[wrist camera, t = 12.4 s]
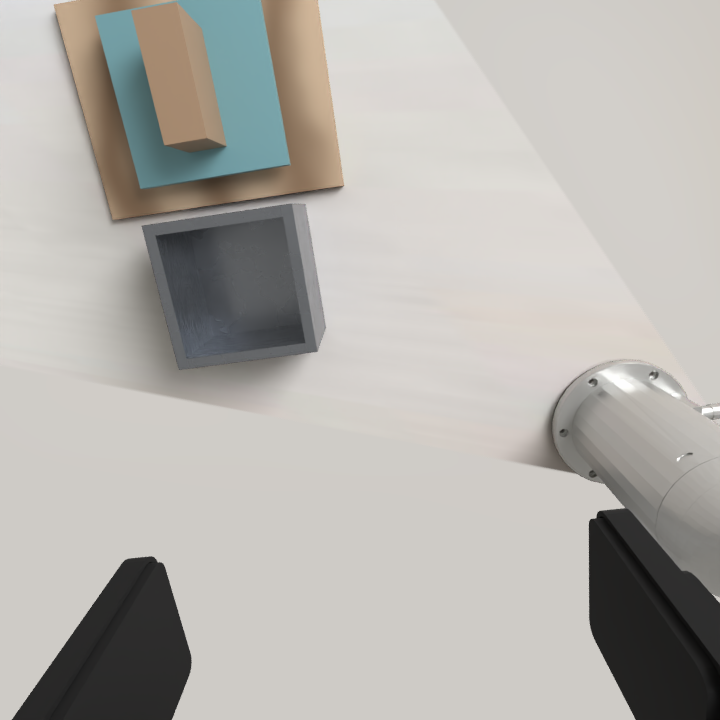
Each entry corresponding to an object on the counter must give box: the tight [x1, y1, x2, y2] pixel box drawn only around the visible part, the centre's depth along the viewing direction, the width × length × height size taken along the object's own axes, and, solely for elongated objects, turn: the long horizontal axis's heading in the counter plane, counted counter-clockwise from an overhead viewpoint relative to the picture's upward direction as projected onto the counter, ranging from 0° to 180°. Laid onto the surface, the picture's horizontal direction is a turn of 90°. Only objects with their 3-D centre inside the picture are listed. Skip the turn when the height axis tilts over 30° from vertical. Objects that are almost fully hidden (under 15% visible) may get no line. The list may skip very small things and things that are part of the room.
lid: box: [95, 0, 291, 189], centre depth 36 cm, size 12×12×8 cm
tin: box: [142, 204, 326, 370], centre depth 41 cm, size 11×11×8 cm
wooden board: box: [54, 0, 344, 220], centre depth 40 cm, size 20×16×1 cm
